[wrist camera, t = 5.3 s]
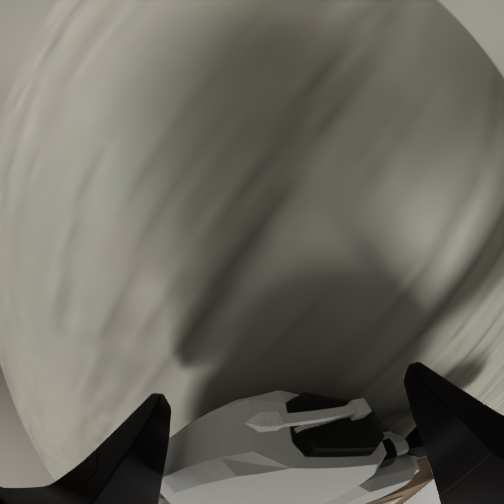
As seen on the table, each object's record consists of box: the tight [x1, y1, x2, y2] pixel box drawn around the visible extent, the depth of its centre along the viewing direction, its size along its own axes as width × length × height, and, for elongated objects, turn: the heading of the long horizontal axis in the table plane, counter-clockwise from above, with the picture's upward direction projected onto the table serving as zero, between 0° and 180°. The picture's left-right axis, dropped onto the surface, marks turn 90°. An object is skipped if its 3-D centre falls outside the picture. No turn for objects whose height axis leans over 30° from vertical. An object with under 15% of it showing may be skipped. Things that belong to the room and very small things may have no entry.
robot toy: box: [158, 390, 427, 504], centre depth 10 cm, size 12×4×15 cm
